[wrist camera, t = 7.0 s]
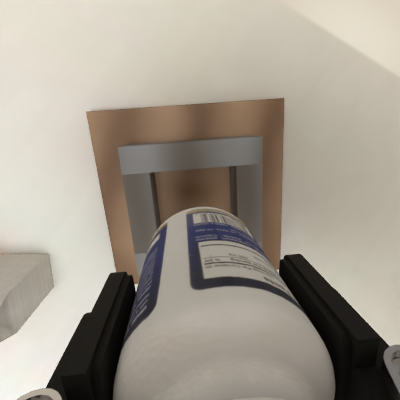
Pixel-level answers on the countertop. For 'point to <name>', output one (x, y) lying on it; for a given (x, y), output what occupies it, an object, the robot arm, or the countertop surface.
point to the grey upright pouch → (22, 288)
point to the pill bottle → (217, 321)
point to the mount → (188, 170)
